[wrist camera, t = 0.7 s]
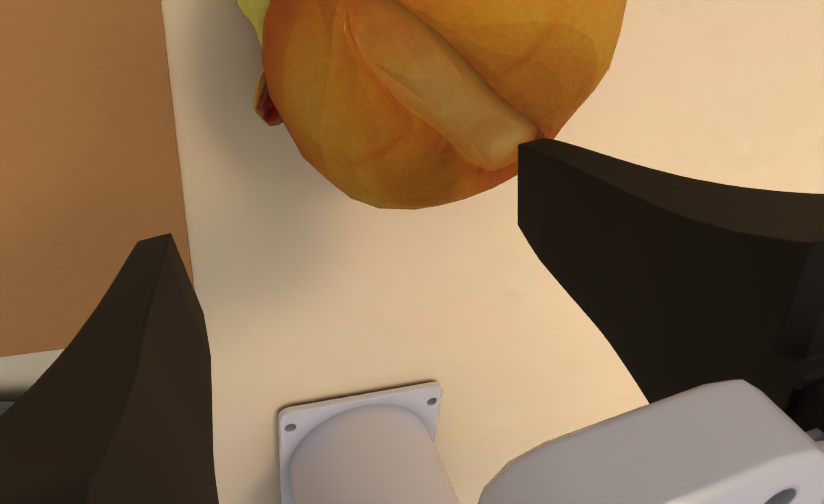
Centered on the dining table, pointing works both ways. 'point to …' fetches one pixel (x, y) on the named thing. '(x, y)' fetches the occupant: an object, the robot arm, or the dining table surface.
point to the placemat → (80, 159)
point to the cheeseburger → (426, 86)
